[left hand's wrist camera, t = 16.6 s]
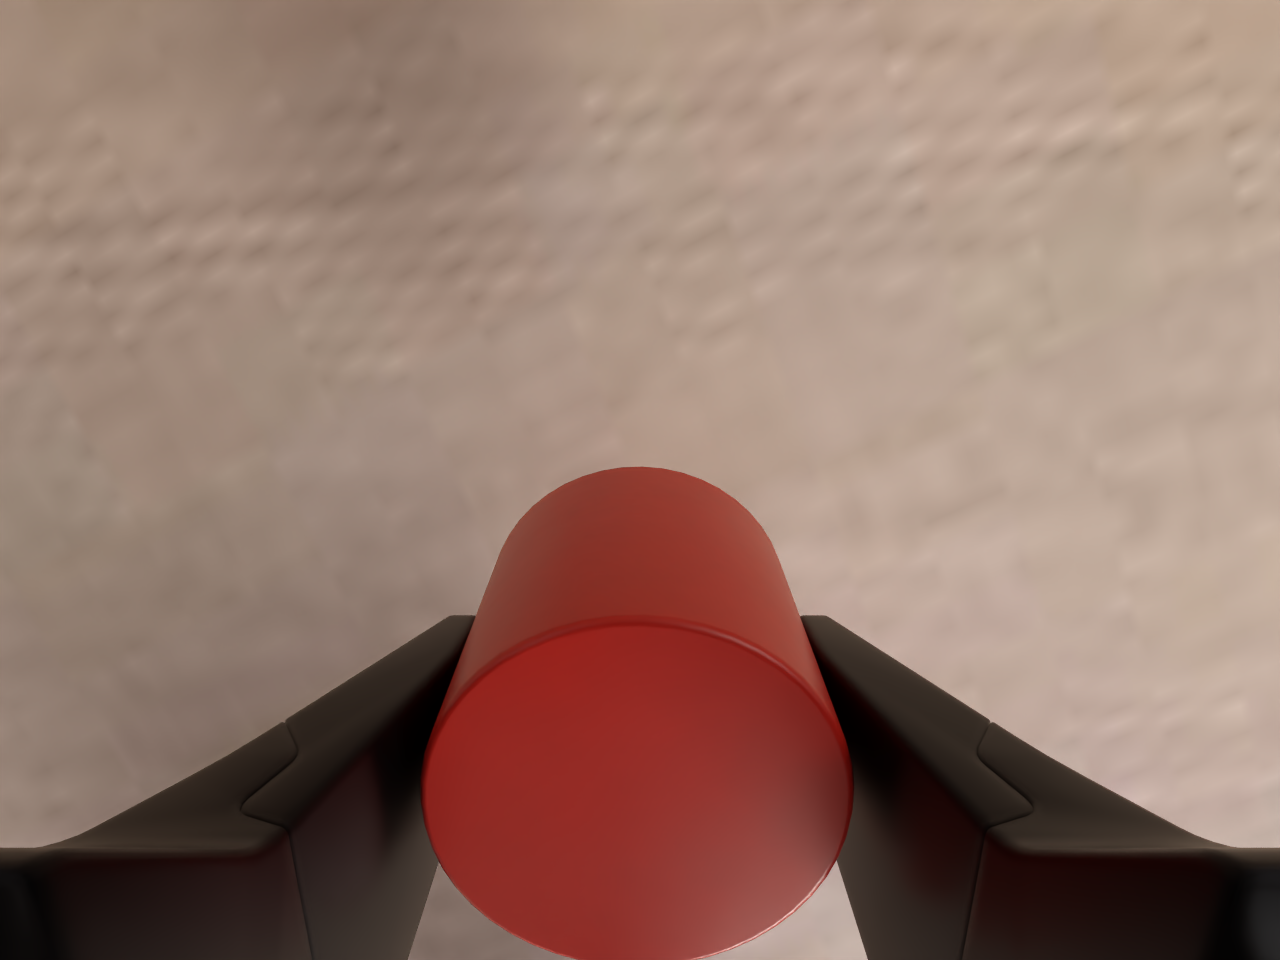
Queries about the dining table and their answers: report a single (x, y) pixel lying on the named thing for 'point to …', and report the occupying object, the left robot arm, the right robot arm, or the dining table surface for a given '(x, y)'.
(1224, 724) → the dining table surface
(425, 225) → the dining table surface
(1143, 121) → the dining table surface
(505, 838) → the canister
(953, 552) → the dining table surface
